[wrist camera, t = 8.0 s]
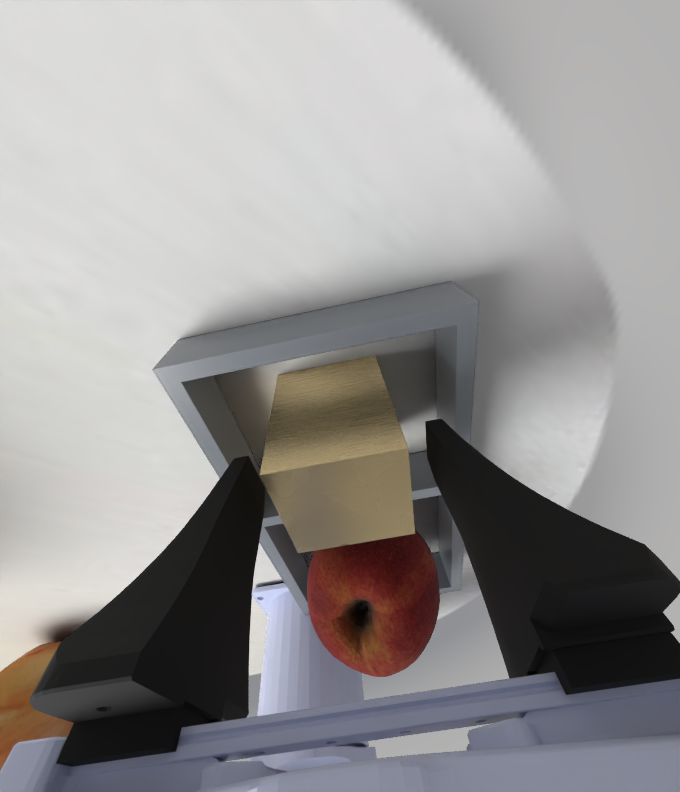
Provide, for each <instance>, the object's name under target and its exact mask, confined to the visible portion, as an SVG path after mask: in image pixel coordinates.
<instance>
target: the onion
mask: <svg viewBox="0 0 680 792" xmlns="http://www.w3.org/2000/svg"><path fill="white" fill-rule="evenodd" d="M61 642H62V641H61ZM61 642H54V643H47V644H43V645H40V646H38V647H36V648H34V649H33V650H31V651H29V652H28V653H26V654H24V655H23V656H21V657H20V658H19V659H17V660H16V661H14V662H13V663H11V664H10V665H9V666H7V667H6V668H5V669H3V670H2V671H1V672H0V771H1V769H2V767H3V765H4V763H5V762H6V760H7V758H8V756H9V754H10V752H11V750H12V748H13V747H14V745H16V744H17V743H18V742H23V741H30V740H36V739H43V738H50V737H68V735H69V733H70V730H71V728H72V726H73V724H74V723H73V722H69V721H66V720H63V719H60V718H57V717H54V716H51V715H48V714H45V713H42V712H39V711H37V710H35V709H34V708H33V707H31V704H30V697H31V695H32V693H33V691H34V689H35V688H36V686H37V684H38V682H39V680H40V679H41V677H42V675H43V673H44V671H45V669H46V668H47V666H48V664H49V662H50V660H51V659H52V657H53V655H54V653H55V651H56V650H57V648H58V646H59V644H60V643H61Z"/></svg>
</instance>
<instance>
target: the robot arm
mask: <svg viewBox="0 0 680 792" xmlns="http://www.w3.org/2000/svg"><path fill="white" fill-rule="evenodd" d="M426 443H427V459H428V462H429V465H430V468H431V471H432V474H433V477H434V480H435V482H436V484H437V486H438V488H439V491H440V493H441V495H442V497H443V499H444V501H445V503H446V505H447V507H448V510H449V512H450V514H451V516H452V518H453V520H454V522H455V524H456V526H457V528H458V531H459V533H460V535H461V537H462V540H463V542H464V545H465V547H466V550H467V553H468V556H469V558H470V561H471V564H472V566H473V569H474V572H475V575H476V578H477V581H478V583H479V586H480V589H481V592H482V595H483V598H484V601H485V604H486V606H487V609H488V613H489V616H490V618H491V621H492V624H493V627H494V630H495V634H496V637H497V640H498V643H499V646H500V649H501V652H502V655H503V658H504V662H505V665H506V668H507V671H508V675H509V678H510V679H505V680H497V681H491V682H484V683H477V684H471V685H464V686H457V687H451V688H444V689H437V690H430V691H423V692H417V693H411V694H403V695H397V696H390V697H384V698H376V699H370V700H364V693H363V683H362V673H361V672H358V671H355V670H353V669H351V668H350V667H348V666H346V665H345V664H343V663H342V662H340V661H339V660H338V659H336V658H335V657H333V655H332V654H331V653H330V652H329V651H328V650H327V649H326V648H325V647H324V646H323V644H322V643H321V641H320V639H319V638H318V636H317V634H316V632H315V630H314V628H313V625H312V622H311V619H310V615H304V614H303V612H302V610H301V609H300V607H299V606H298V604H297V602H296V601H295V599H294V597H293V596H292V594H291V593H290V591H289V589H288V588H287V586H286V585H285V583H281V584H275V585H269V586H263V587H257V588H254V589H253V590H252V586H253V576H254V568H255V562H256V557H257V551H258V545H259V540H260V534H261V528H262V522H263V516H264V505H265V487H264V485H263V483H262V481H261V479H260V477H259V475H258V473H257V471H256V469H255V467H254V465H253V463H252V461H251V459H250V457H249V456H244V457H239V458H234V459H233V461H232V462H231V463H230V465H229V466H228V468H227V469H226V471H225V472H224V474H223V475H222V476H221V478H220V479H219V481H218V482H217V484H216V485H215V487H214V488H213V490H212V491H211V492H210V494H209V495H208V497H207V498H206V499H205V501H204V502H203V504H202V505H201V506H200V507H199V509H198V510H197V511H196V513H195V514H194V515H193V516H192V518H191V519H190V520H189V522H188V523H187V524H186V525H185V527H184V528H183V529H182V530H181V532H180V533H179V534H178V535H177V536H176V537H175V539H174V540H173V541H172V542H171V543H170V544H169V545H168V546H167V547H166V549H165V550H164V551H163V552H162V553H161V554H160V555H159V556H158V557H157V558H156V559H155V560H154V561H153V562H152V563H151V564H150V565H149V566H148V567H147V568H146V569H145V570H144V571H143V572H142V573H141V574H140V575H139V576H138V577H137V578H136V579H135V580H134V581H133V582H132V583H131V584H130V585H129V586H127V587H126V588H125V589H124V590H123V591H122V592H121V593H120V594H119V595H117V596H116V597H115V598H114V599H113V600H112V601H111V602H110V603H108V604H107V605H106V606H105V607H104V608H103V609H101V610H100V611H99V612H98V613H97V614H95V615H94V616H93V617H92V618H90V619H89V620H88V621H87V622H86V623H84V624H83V625H82V626H81V627H79V628H78V629H77V630H76V631H74V632H73V633H72V634H71V635H69V636H68V637H67V638H66V639H64V640H63V641H62V642H61V643H60V644H59V646H58V648H57V650H56V651H55V653H54V655H53V657H52V659H51V660H50V662H49V664H48V666H47V668H46V669H45V671H44V673H43V675H42V677H41V679H40V680H39V682H38V684H37V686H36V688H35V689H34V691H33V693H32V695H31V697H30V704H31V707H33V708H34V709H35V710H37V711H39V712H42V713H45V714H48V715H51V716H54V717H57V718H60V719H63V720H66V721H69V722H73V723H74V724H73V726H72V728H71V730H70V733H69V735H68V737H50V738H43V739H36V740H30V741H23V742H18V743H17V744H16V745H14V747H13V748H12V750H11V752H10V754H9V756H8V758H7V760H6V762H5V763H4V765H3V767H2V769H1V771H0V792H680V643H679V642H678V641H677V640H676V638H675V637H674V636H673V634H672V633H671V632H672V631H674V626H673V625H672V623H671V622H670V621H669V619H668V618H667V617H666V616H665V615H664V613H663V611H664V610H665V609H666V608H667V607H668V606H669V605H670V604H671V603H672V602H673V600H674V599H675V598H676V597H677V596H678V594H679V593H680V581H679V580H678V579H677V578H676V576H675V575H674V574H673V573H672V572H671V571H670V570H669V569H668V568H667V566H665V564H664V563H663V562H662V561H661V560H660V559H659V558H658V557H657V556H656V555H655V554H654V553H653V552H652V551H651V550H650V549H649V548H648V547H647V546H646V545H645V544H642V543H640V542H638V541H635V540H633V539H630V538H628V537H626V536H623V535H621V534H618V533H616V532H614V531H611V530H609V529H607V528H604V527H602V526H600V525H598V524H596V523H594V522H591V521H589V520H587V519H585V518H583V517H581V516H579V515H577V514H575V513H573V512H571V511H569V510H567V509H565V508H563V507H562V506H560V505H558V504H556V503H554V502H552V501H551V500H549V499H547V498H545V497H543V496H541V495H540V494H538V493H536V492H535V491H533V490H532V489H530V488H528V487H527V486H525V485H524V484H522V483H520V482H519V481H517V480H516V479H514V478H513V477H511V476H510V475H508V474H507V473H506V472H504V471H503V470H501V469H500V468H499V467H497V466H496V465H495V464H493V463H492V462H491V461H489V460H488V459H487V458H486V457H484V456H483V455H482V454H481V453H479V452H478V451H477V450H476V449H475V448H473V447H472V446H471V445H470V444H469V443H468V442H466V441H465V440H464V439H463V438H462V437H461V436H460V435H459V434H458V433H456V432H455V431H454V430H453V429H452V428H451V427H450V426H449V425H448V424H447V423H446V422H445V421H444V420H442V419H436V420H431V421H426ZM252 597H253V598H254V599H255V600H256V602H257V603H258V604H259V605H260V607H261V608H262V609H263V611H264V612H265V613H266V614H267V616H268V620H267V629H266V638H265V648H264V657H263V667H262V676H261V686H260V695H259V705H258V714H257V716H256V717H249V718H246V717H247V715H248V713H249V711H248V710H249V709H248V676H249V634H250V616H251V600H252ZM490 723H493V724H490ZM482 724H490V725H486V726H483V727H479V728H476V729H472V730H469V732H468V739H469V742H470V744H468V746H467V751H455V752H443V753H431V754H418V755H407V756H396V757H387V758H378V759H377V758H376V749H375V747H369V745H368V741H371V740H378V739H384V738H392V737H398V736H405V735H413V734H420V733H427V732H433V731H441V730H448V729H454V728H461V727H469V726H476V725H482ZM243 758H249V761H240V762H225V761H230V760H237V759H243Z"/></svg>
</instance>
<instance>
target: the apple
mask: <svg viewBox="0 0 680 792" xmlns="http://www.w3.org/2000/svg"><path fill="white" fill-rule="evenodd" d="M307 601H308V609H309V615H310V619H311V622H312V625H313V628H314V630H315V632H316V634H317V636H318V638H319V639H320V641H321V643H322V644H323V646H324V647H325V648H326V649H327V650H328V651H329V652H330V653H331V654H332V655H333V657H335V658H336V659H338V660H339V661H340V662H342V663H343V664H345V665H346V666H348V667H350V668H351V669H353V670H355V671H358V672H361V673H364V674H368V675H371V676H376V677H386V676H390V675H393V674H395V673H398V672H400V671H402V670H404V669H406V668H407V667H408V666H409V665H411V664H412V663H413V662H414V661H416V660H417V658H418V657H419V656H420V655H421V653H422V652H423V650H424V649H425V647H426V645H427V644H428V642H429V640H430V638H431V635H432V633H433V630H434V628H435V624H436V621H437V616H438V611H439V602H440V591H439V579H438V573H437V568H436V564H435V560H434V558H433V555H432V553H431V551H430V549H429V547H428V545H427V543H426V542H425V540H424V539H423V538H422V537H421V535H420V534H419V533H418V532H417V531H416V530H415V534H410V535H404V536H398V537H392V538H386V539H380V540H374V541H368V542H363V543H357V544H351V545H345V546H339V547H333V548H327V549H321V550H316V551H314V553H313V556H312V559H311V562H310V566H309V570H308V579H307Z"/></svg>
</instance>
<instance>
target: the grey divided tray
mask: <svg viewBox="0 0 680 792" xmlns="http://www.w3.org/2000/svg"><path fill="white" fill-rule="evenodd" d="M478 309H479V301H478V300H477V299H476V298H474V297H473V296H471V295H470V294H469V293H467V292H466V291H464V290H463V289H462V288H460V287H459V286H457V285H456V284H455V283H453V282H452V281H451V282H446V283H442V284H437V285H432V286H428V287H423V288H418V289H414V290H409V291H404V292H400V293H395V294H390V295H386V296H381V297H376V298H372V299H367V300H362V301H358V302H353V303H348V304H344V305H339V306H334V307H330V308H325V309H320V310H316V311H311V312H306V313H302V314H297V315H292V316H288V317H283V318H278V319H274V320H269V321H264V322H260V323H255V324H250V325H246V326H241V327H236V328H232V329H227V330H222V331H218V332H213V333H208V334H204V335H199V336H194V337H190V338H185V339H180V340H178V341H177V342H176V343H175V344H174V345H173V346H172V347H171V349H170V350H169V351H168V352H167V353H166V354H165V356H164V357H163V358H162V359H161V360H160V361H159V363H158V364H157V365H156V366H155V367H154V368H153V369H152V370H153V371H154V373H155V374H156V376H157V378H158V379H159V381H160V383H161V384H162V386H163V387H164V389H165V391H166V392H167V394H168V395H169V397H170V399H171V400H172V402H173V404H174V405H175V407H176V408H177V410H178V412H179V413H180V415H181V416H182V418H183V420H184V421H185V423H186V425H187V426H188V428H189V429H190V431H191V433H192V434H193V436H194V437H195V439H196V441H197V442H198V444H199V446H200V447H201V449H202V450H203V452H204V454H205V455H206V457H207V459H208V460H209V462H210V463H211V465H212V467H213V468H214V470H215V471H216V473H217V475H218V476H219V478H221V476H222V475H223V474H224V472H225V471H226V469H227V468H228V466H229V465H230V463H231V462H232V461H233V459H234V458H239V457H244V456H249V457H250V459H251V461H252V463H253V465H254V467H255V469H256V471H257V473H258V475H259V477H260V468H259V466H258V464H257V462H256V460H255V458H254V456H253V454H252V452H251V450H250V448H249V446H248V444H247V442H246V440H245V438H244V436H243V434H242V432H241V430H240V428H239V426H238V424H237V422H236V420H235V418H234V416H233V414H232V412H231V410H230V408H229V406H228V404H227V402H226V400H225V398H224V396H223V394H222V392H221V390H220V388H219V386H218V384H217V382H216V380H215V378H214V376H213V375H218V374H223V373H228V372H233V371H237V370H242V369H247V368H252V367H257V366H262V365H266V364H271V363H276V362H281V361H286V360H291V359H295V358H300V357H305V356H310V355H315V354H320V353H324V352H329V351H334V350H339V349H344V348H349V347H353V346H358V345H363V344H368V343H373V342H378V341H382V340H387V339H392V338H397V337H402V336H407V335H411V334H416V333H421V332H426V331H431V330H435V361H436V412H437V419H442V420H444V421H445V422H446V423H447V424H448V425H449V426H450V427H451V428H452V429H453V430H454V431H455V432H456V433H458V434H459V435H460V436H461V437H462V438H463V439H464V440H465V441H466V442H468V443H469V444H470V436H471V420H472V404H473V388H474V373H475V357H476V341H477V325H478ZM409 465H410V477H411V489H412V500H416V499H422V498H427V497H433V496H438V515H439V553H433V554H432V555H433V558H434V560H435V564H436V568H437V573H438V579H439V591H440V593H446V592H452V591H458V590H461V578H462V563H463V547H464V542H463V540H462V537H461V535H460V533H459V531H458V528H457V526H456V524H455V522H454V520H453V518H452V516H451V514H450V512H449V510H448V507H447V505H446V503H445V501H444V499H443V497H442V495H441V493H440V491H439V488H438V486H437V484H436V482H435V480H434V477H433V474H432V471H431V468H430V465H429V462H428V459H427V451H423V452H418V453H412V454H409ZM260 479H261V477H260ZM261 481H262V479H261ZM262 483H263V481H262ZM263 485H264V483H263ZM264 487H265V485H264ZM259 543H260V544H261V546H262V547H263V549H264V551H265V552H266V554H267V555H268V557H269V559H270V560H271V562H272V564H273V565H274V567H275V568H276V570H277V572H278V573H279V575H280V576H281V578H282V580H283V581H284V583H285V585H286V586H287V588H288V589H289V591H290V593H291V594H292V596H293V597H294V599H295V601H296V602H297V604H298V606H299V607H300V609H301V610H302V612H303V614H304V615H309V609H308V601H307V579H308V570H309V567H308V565H307V563H306V561H305V559H304V557H303V555H302V553H298V552H297V550H296V548H295V546H294V544H293V542H292V540H291V538H290V536H289V534H288V532H287V530H286V528H285V526H284V524H283V522H282V520H281V518H280V516H279V514H278V512H277V510H276V507H275V505H274V503H273V501H272V499H271V497H270V495H269V493H268V491H267V489H266V487H265V505H264V516H263V522H262V528H261V534H260V540H259Z"/></svg>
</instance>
